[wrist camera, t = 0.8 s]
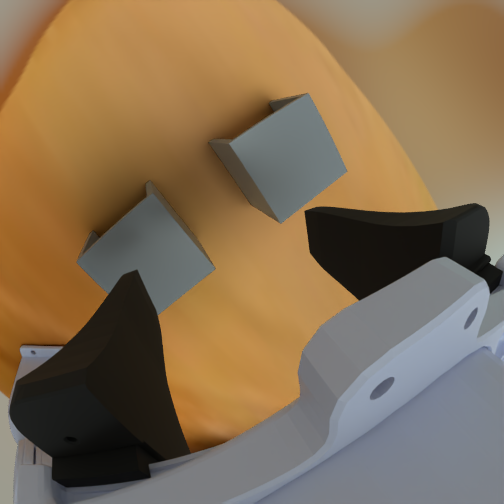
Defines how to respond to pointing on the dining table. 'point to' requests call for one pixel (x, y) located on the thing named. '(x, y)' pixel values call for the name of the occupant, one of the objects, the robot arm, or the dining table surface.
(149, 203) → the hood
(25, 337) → the dining table surface
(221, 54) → the dining table surface
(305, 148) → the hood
